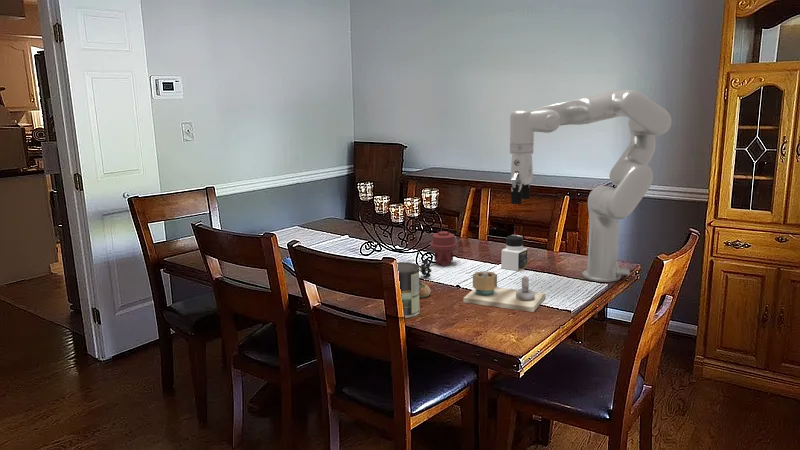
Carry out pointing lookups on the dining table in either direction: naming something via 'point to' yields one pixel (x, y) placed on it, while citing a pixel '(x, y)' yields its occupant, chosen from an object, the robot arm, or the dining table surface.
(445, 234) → the mechanical component
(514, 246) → the medicine bottle
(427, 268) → the valve
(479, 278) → the ring
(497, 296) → the hub board
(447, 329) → the dining table surface
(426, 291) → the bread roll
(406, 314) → the coffee can
